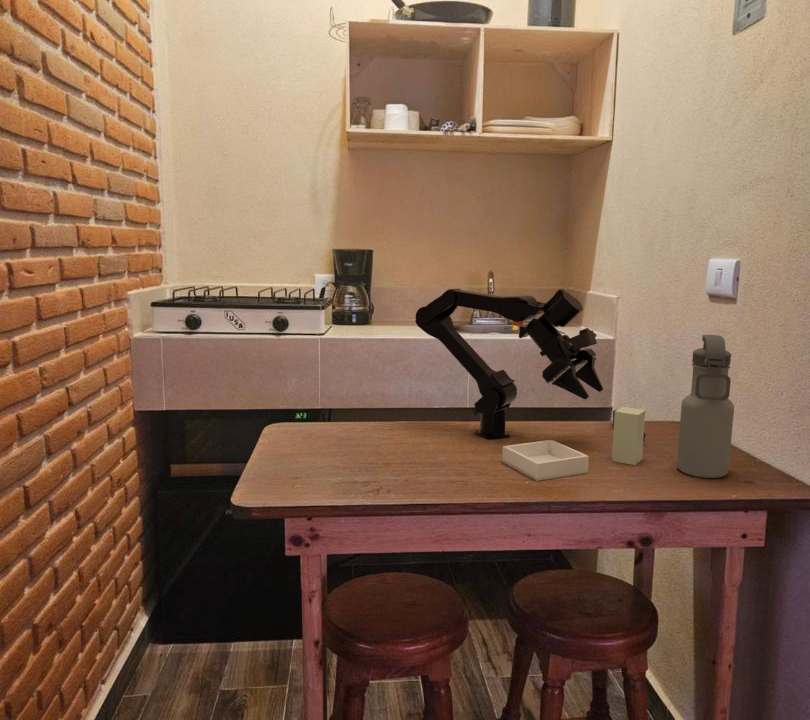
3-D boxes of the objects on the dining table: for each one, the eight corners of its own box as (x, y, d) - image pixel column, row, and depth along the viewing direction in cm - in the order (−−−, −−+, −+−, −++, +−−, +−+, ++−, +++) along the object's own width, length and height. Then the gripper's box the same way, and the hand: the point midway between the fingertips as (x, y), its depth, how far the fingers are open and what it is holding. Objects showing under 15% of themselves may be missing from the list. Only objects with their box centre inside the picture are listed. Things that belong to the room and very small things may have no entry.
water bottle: (732, 482, 132) (745, 341, 127) (678, 477, 134) (689, 339, 130) (723, 466, 141) (735, 334, 136) (674, 461, 144) (684, 332, 139)
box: (502, 462, 143) (502, 446, 143) (550, 454, 148) (551, 439, 148) (536, 481, 132) (537, 464, 131) (587, 472, 137) (588, 456, 136)
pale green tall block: (611, 460, 144) (614, 411, 143) (619, 454, 148) (622, 406, 147) (635, 465, 142) (638, 414, 140) (642, 459, 146) (645, 410, 144)
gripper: (558, 320, 140) (607, 378, 135) (589, 313, 155) (635, 365, 151) (522, 354, 146) (568, 411, 141) (556, 344, 161) (598, 395, 156)
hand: (594, 394), depth 147 cm, fingers open, 9 cm apart
